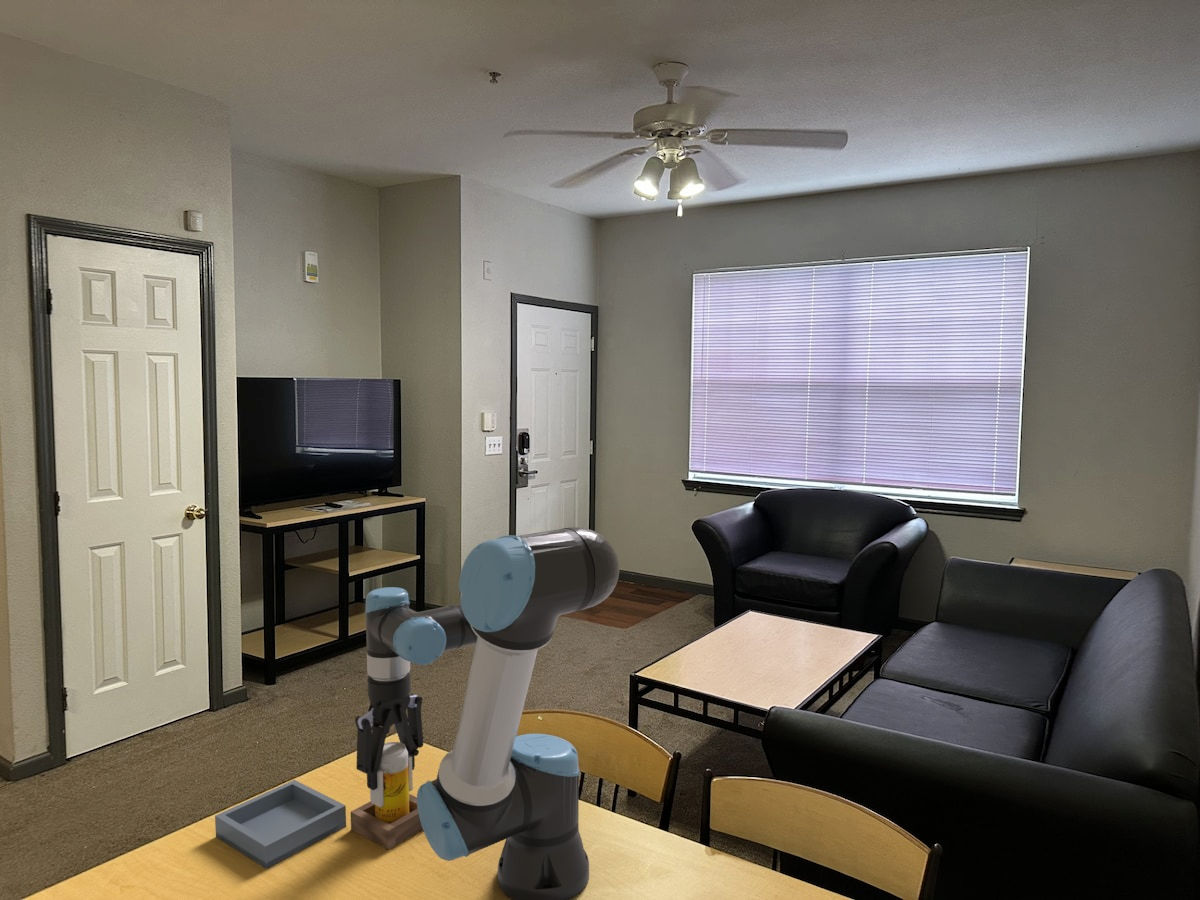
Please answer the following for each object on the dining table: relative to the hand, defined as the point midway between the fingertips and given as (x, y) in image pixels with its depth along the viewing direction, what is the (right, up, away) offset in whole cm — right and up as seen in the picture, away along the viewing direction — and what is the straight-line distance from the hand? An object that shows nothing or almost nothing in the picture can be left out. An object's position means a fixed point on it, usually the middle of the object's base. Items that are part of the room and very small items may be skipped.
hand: (391, 795), depth 149 cm
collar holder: (0, -6, +1) cm, 6 cm away
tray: (-20, -6, -1) cm, 21 cm away
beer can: (0, -6, +1) cm, 6 cm away
